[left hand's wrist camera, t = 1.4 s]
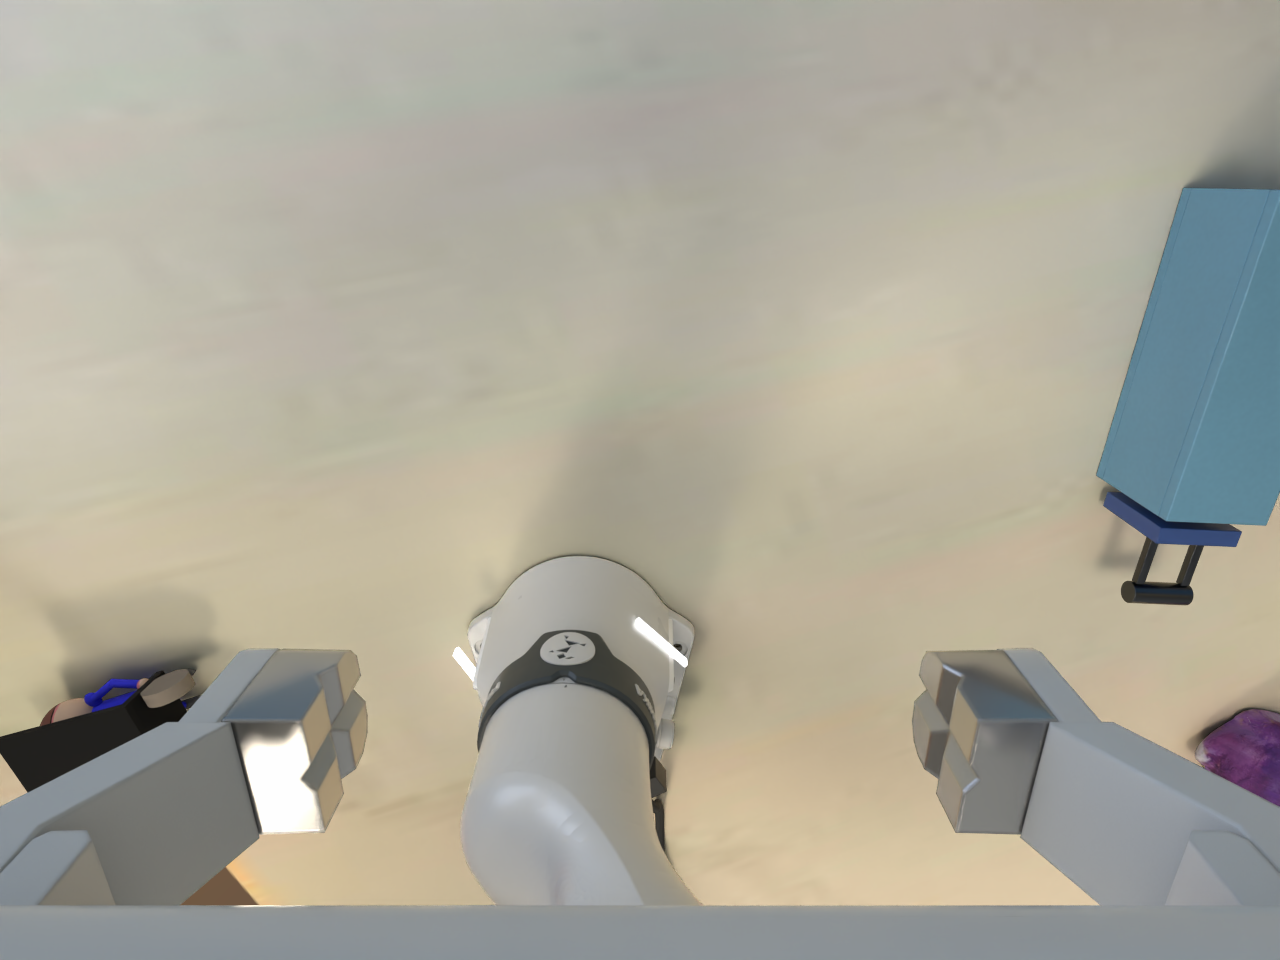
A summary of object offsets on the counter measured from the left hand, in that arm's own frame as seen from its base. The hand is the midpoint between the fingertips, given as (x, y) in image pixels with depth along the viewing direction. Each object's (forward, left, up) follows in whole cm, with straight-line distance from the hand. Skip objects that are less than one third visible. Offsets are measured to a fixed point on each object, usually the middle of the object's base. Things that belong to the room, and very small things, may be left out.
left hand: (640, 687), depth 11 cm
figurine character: (-35, +43, -44) cm, 71 cm away
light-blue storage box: (-4, -39, -44) cm, 59 cm away
